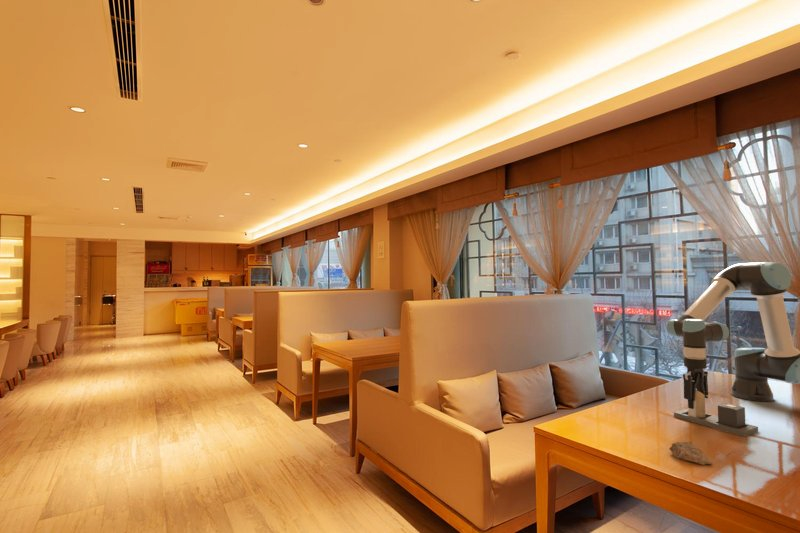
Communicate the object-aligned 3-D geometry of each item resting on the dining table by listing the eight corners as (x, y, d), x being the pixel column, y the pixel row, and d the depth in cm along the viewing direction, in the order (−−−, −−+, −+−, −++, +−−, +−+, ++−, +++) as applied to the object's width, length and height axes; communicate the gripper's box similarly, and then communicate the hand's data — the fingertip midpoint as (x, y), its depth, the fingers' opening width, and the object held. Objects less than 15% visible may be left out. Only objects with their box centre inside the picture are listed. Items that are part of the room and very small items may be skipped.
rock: (665, 454, 132) (691, 462, 123) (666, 436, 134) (692, 442, 124) (688, 459, 134) (716, 467, 124) (689, 441, 135) (716, 447, 125)
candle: (708, 418, 160) (707, 392, 161) (692, 417, 162) (691, 392, 162) (700, 413, 166) (700, 389, 166) (685, 413, 167) (685, 388, 167)
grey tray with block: (687, 412, 171) (687, 392, 171) (758, 431, 150) (757, 408, 150) (674, 416, 167) (673, 395, 167) (744, 436, 145) (743, 412, 146)
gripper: (697, 353, 172) (699, 408, 171) (671, 358, 163) (673, 416, 163) (717, 356, 165) (719, 413, 164) (692, 361, 157) (694, 421, 156)
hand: (696, 414), depth 164 cm, fingers closed on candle, 5 cm apart
